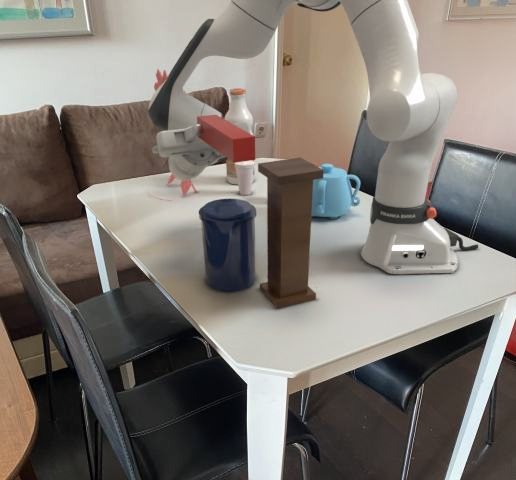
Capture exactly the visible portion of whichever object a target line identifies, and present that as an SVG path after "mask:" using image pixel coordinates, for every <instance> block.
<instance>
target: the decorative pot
mask: <svg viewBox="0 0 516 480" xmlns="http://www.w3.org/2000/svg"><path fill="white" fill-rule="evenodd" d="M318 167H319V168H321V169H323V170H324V173H323V178H321V179H315V180H313V195H312V215H311V218H314V217H320V218H321V217H323V218H329V219H330V220H337V219H338V218H339V217H341V216H344V215H346V214H347V212H348V211H349V210H350V208H351V207H357V206H359V205H360V204H361V199H360V197H359V196H357V195H358V194H359V193H358V192H359V190H360V187H361V180H360V178H359V177H358V176H357V175H354V174H348V172H347V171H346V170H345V169H343V168H340V167H334V165H333V164H332V163H323V164H321V166H318ZM351 180H353V181H355V182H356V186H355V189H354V191H353V189H352V183H351ZM355 201H356V202H355Z"/></svg>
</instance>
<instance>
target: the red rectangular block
mask: <svg viewBox="0 0 516 480" xmlns="http://www.w3.org/2000/svg"><path fill="white" fill-rule="evenodd" d="M197 124H201V126H202V131H203V133H202V134H201V135H200V136H198V137H199V138H200V139H201V140H203V141H204V142H206V143H207V144H208V145H210V146H211V147H213V148H214V149H215V150H217V151H218V152H219V153H221V154H222V155H224V156H225V157H226V158H228V159H229V160H231V161H232V162H233V163H236V162H243V161H251V160H254V161H255V160H256V136H254V134H253V135H251V134H250V133H248V132H246V131H244V130H242V129H241V128H239V127H237V126H235V125H234V124H232V123H230V122H228V121H227V120H225V118H224V119H223V118H221V117H219V116H218V115H208V116H198V117H197Z"/></svg>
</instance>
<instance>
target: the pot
mask: <svg viewBox="0 0 516 480" xmlns="http://www.w3.org/2000/svg"><path fill="white" fill-rule="evenodd" d="M256 217H257V208H256V207H255V205H253V204H251V203H250V202H248V201H246V200H243V199H239V198H220V199H215V200H211V201H208V202H207V203H205V204H204V205H202V207H200V208H199V210H198V219H199V221H201V222H200V223H201V235H202V246H203V247H202V248H203V257H204V258H203V259H204V270H205V282H206V285H207V286H208V287H209V288H211V289H213V290H214V291H218V292H223V293H237V292H241V291H244V290H248V289H249V288H252V286H254V285H255V283H256V281H257V277H256V275H257V272H256V270H257V269H256Z"/></svg>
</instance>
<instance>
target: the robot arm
mask: <svg viewBox="0 0 516 480" xmlns="http://www.w3.org/2000/svg"><path fill="white" fill-rule="evenodd" d="M294 5H297V6H298V7H300V8H305V9H308V10H312V11H314V12H315V11H316V12H331V11H332V10H335V9H336V8H338V7H340V6H341V5H342V8H343V9H344V11H345V13H346V16H347V18H348V21H349V24H350V26H351V29H352V32H353V34H354V36H355V39H356V42H357V45H358V47H359V50H360V53H361V55H362V59H363V61H364V65H365V70H366V74H367V82H368V89H369V101H368V105H367V108H366V117H365V118H366V123H367V124H366V125H367V126H368V130H369V131H370V132H371V134H372V135H373V136H374V137H376V138H377V139H379V140H381V141H384V142H388V145H387V148H386V150H385V151H384V153H383V155H382V157H381V158H380V160H379V164H378V169H377V177H376V185H375V194H374V196H373V197H372V202H371V204H370V205H371V206H370V212H369V222H370V224H369V228H368V233H367V236H366V239H365V243H364V245H363V246H362V249H361V252H360V256H361V258H362V259H363V260H364V261H365V262H366V263H368V264H369V265H371V266H374V267H377V268H379V269H381V270H383V271H384V272H385V273H387V274H390V275H411V274H413V275H414V274H415V275H417V274H420V275H421V274H453V273H454V272H455V271H457V269H458V266H459V259H458V255H457V253H456V252H455V250H454V249H453V248H452V247H456V246H457V242H458V248H459V249H460V250H462V251H465V252H466V251H467V252H468V251H472V250H476V249H478V248H479V244H472V245H468V246H464V241H463V238H462V237H461V236H460V235H458V234H457V233H455V232H453V231H452V230H450V229H448V228H446V227H443V226H442V225H441V224H440V223H438V222H437V221H436V220H435V218H436V217H437V215H438V214H437V213H438V212H437V210H436V208H435V207H434V205H433V203H431V201H430V199H426V196H427V191H428V185H429V181H430V176H431V170H432V166H433V163H434V161H435V158H436V154H437V152H438V149H439V146H440V143H441V141H442V138H443V135H444V132H445V129H446V126H447V125H448V121H449V119H450V117H451V116H452V113H453V112H454V110H455V108H456V107H457V104H458V97H459V96H458V89H457V87H456V84H455V83H454V81H453V80H452V79H451V78H450V77H448V76H446V75H443V74H440V73H438V72H437V73H436V72H426V73H422V72H421V69H420V63H419V62H420V61H419V55H418V43H419V39H420V33H419V29H418V26H417V24H416V23H417V22H416V21H415V17H414V15H413V12H412V10H411V6H410V3H409V0H230V1H229V4H228V5H227V7H226V9H225V10H224V11H223V12H222V13H221V14H220V15H218V16H217V17H216V18H207V19H206V20H204V22H203V23H202V24H201V25H200V26H199V28H198V29H197V31H196V32H195V34H194V35H193V36H192V38H191V39H190V40H189V42H188V44H187V45H186V47H185V48H184V49H183V51H182V53H181V54H180V55H179V58H178V59H177V61H176V63H175V64H174V66H173V67H172V68H171V70H170V71H169V74H167V76H168V77H167V79H166V80H165V81H164V83H163V84H162V85H161V86H160V87H159V88H158V89H157V90H156V91H155V90H154V93H153V95H152V96H151V98H150V100H149V104H148V110H147V113H148V116H149V118H150V121H151V122H152V124H153V126H154V127H155V128H158V129H160V130H161V131H159V132H157V133H156V136H155V143H156V145H155V146H153V147H152V153H153V154H158V155H159V157H161V158H168V162H167V164H168V170H169V172H170V173H171V174H173V175H174V176H175V178H176V179H177V178H178V179H177V180H179V181H182V180H183V181H189V180H194V179H196V178H197V177H198V176H200V175H201V174H202V173H203V172H204V171H205V169H206V168H207V167H210V166H212V165H214V164H216V163H219V162H224V161H226V160H227V159H228V158H226V157H225V156H224V155H222V154H221V153H219V152H218V151H217V150H215V149H214V148H213V147H211V146H210V145H208V144H207V143H206V142H204V141H203V140H201V139H200V138H199V137H198V136H200V135H201V134H202V133H203V131H202V126H201V124H197V117H198V116H208V115H218V116H219V117H221V118H223V119H225V116H224V115H223V113H222V112H220V111H218V110H217V109H215V108H214V107H212V106H210V105H208V104H207V103H204V102H202V101H201V100H199V99H197V98H195V97H194V96H192V95H191V94H188V92H186V91H185V90H184V87H185V84H186V83H187V81H188V80H189V78H190V77H191V75H192V74H193V72H194V71H195V70H196V68H197V66H198V65H199V64H200V62H201V61H203V60H204V59H206V58H208V57H215V56H216V57H217V56H218V57H224V58H231V59H238V60H248V59H253V58H255V57H258V56H259V55H261V54H262V53H263V52H264V51H265V50H266V48H267V47H268V45H269V44H270V42H271V41H272V38H273V37H274V35H275V33H276V30H278V29H277V28H278V26H279V24H280V23H281V21H282V19H283V17H284V15H285V14H286V12H287V10H288V9H289V8H290V7H292V6H294ZM184 91H185V92H184ZM232 124H234V125H235V126H237V127H239V128H241V129H242V130H244V131H246V132H248V133H250V132H249V128H248V125H247V123H245V122H241V123H232Z"/></svg>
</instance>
